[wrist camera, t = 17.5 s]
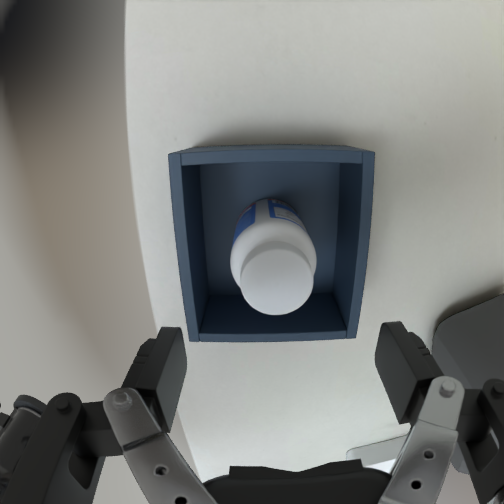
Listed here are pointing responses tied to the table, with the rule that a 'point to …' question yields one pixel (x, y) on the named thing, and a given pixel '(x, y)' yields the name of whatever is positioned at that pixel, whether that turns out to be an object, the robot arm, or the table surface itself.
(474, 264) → the table surface
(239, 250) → the pill bottle
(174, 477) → the robot arm
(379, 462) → the white slotted bracket
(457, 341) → the alarm clock
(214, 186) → the open box
